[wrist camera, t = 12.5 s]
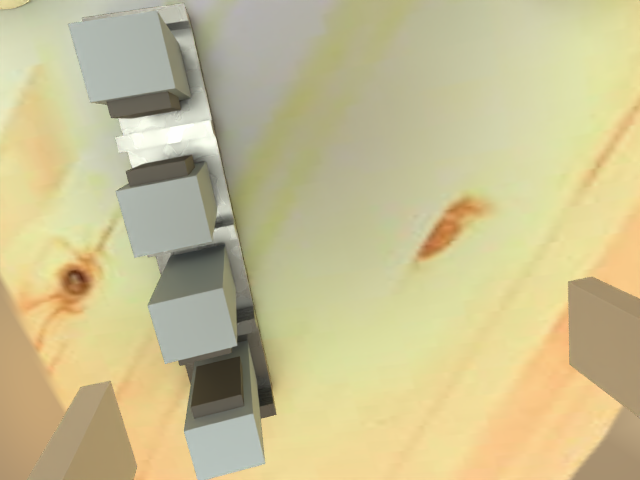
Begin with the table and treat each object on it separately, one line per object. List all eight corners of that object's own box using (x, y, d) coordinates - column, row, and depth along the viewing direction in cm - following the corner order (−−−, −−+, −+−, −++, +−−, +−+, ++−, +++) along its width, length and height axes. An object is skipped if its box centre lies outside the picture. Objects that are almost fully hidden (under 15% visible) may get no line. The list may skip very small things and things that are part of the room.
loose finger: (170, 256, 35) (147, 305, 26) (224, 243, 36) (222, 287, 26) (185, 310, 37) (168, 376, 27) (238, 297, 37) (240, 358, 27)
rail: (99, 30, 33) (81, 17, 29) (189, 16, 33) (183, 2, 30) (200, 405, 40) (196, 434, 36) (272, 387, 41) (276, 414, 37)
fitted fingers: (117, 53, 32) (67, 23, 22) (179, 43, 32) (157, 10, 23) (206, 392, 38) (198, 481, 29) (256, 379, 39) (265, 463, 29)
